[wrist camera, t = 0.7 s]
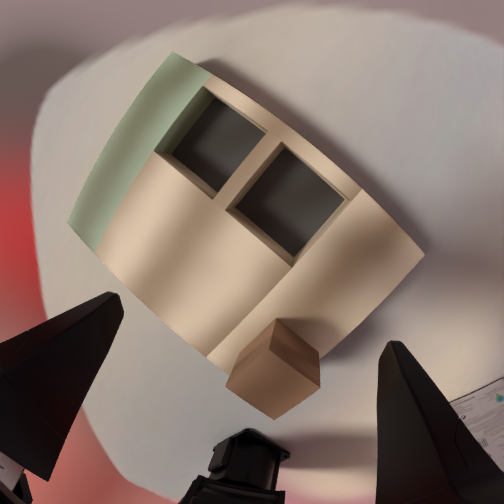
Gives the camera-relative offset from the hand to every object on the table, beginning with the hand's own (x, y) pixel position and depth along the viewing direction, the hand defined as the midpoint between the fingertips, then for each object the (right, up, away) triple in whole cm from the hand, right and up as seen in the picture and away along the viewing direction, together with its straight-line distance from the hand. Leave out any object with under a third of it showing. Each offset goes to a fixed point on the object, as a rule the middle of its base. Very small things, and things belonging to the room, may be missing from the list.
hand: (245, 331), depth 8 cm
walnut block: (+2, -5, +11) cm, 12 cm away
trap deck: (-1, +4, +12) cm, 13 cm away
